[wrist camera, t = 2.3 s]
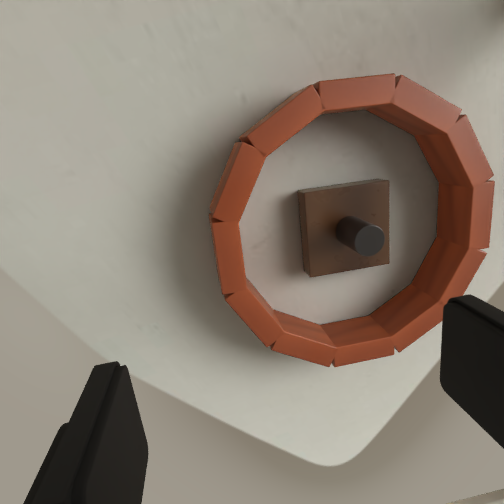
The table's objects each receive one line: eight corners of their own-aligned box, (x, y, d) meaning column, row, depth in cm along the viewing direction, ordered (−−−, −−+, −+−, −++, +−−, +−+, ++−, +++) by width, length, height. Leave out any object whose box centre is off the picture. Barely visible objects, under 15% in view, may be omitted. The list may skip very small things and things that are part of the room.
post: (303, 270, 26) (325, 294, 22) (297, 190, 25) (319, 199, 20) (379, 257, 27) (414, 278, 23) (378, 178, 25) (416, 184, 21)
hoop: (231, 360, 27) (236, 388, 24) (191, 102, 22) (191, 94, 19) (450, 316, 30) (481, 336, 27) (464, 72, 24) (506, 61, 21)
